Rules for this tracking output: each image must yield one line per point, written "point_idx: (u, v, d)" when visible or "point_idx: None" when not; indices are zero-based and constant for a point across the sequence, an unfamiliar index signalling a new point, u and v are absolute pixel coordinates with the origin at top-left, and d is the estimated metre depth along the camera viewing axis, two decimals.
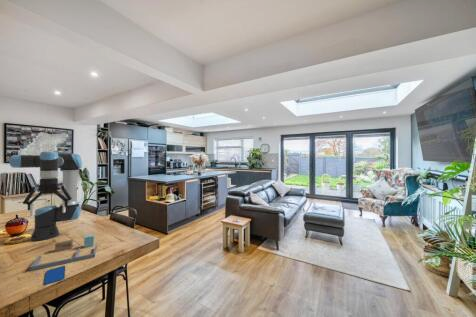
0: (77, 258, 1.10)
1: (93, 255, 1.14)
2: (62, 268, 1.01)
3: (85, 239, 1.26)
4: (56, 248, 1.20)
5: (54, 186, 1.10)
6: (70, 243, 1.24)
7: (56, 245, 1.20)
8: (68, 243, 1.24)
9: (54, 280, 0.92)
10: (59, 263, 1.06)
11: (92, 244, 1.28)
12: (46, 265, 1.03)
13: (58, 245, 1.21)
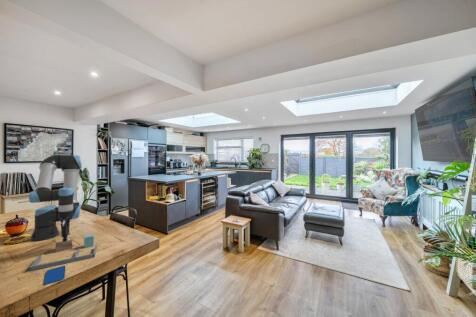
0: (77, 258, 1.10)
1: (93, 255, 1.14)
2: (62, 268, 1.01)
3: (85, 239, 1.26)
4: (56, 248, 1.20)
5: (62, 219, 1.23)
6: (71, 243, 1.24)
7: (56, 245, 1.20)
8: (69, 243, 1.24)
9: (54, 280, 0.91)
10: (59, 263, 1.06)
11: (92, 244, 1.28)
12: (46, 265, 1.03)
13: (58, 245, 1.21)
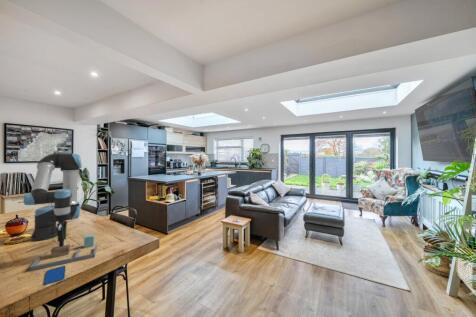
0: (77, 258, 1.10)
1: (93, 255, 1.14)
2: (62, 268, 1.01)
3: (85, 239, 1.26)
4: (52, 254, 1.13)
5: (58, 223, 1.16)
6: (67, 248, 1.17)
7: (52, 250, 1.13)
8: (65, 248, 1.16)
9: (54, 280, 0.91)
10: (59, 263, 1.06)
11: (92, 244, 1.28)
12: (46, 265, 1.03)
13: (54, 250, 1.14)
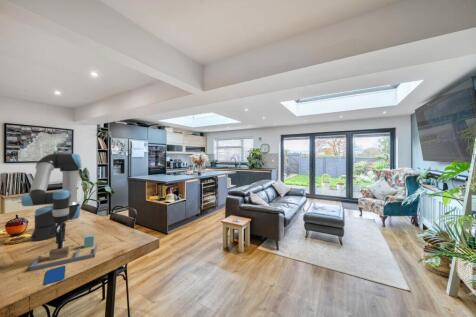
0: (77, 258, 1.10)
1: (93, 255, 1.14)
2: (62, 268, 1.01)
3: (85, 239, 1.26)
4: (50, 256, 1.11)
5: None
6: (66, 250, 1.14)
7: (50, 253, 1.11)
8: (64, 250, 1.14)
9: (54, 280, 0.91)
10: (59, 263, 1.06)
11: (92, 244, 1.28)
12: (46, 265, 1.03)
13: (53, 253, 1.11)
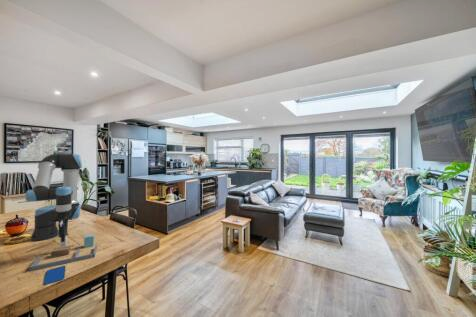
0: (77, 258, 1.10)
1: (93, 255, 1.14)
2: (62, 268, 1.01)
3: (85, 239, 1.26)
4: (53, 250, 1.15)
5: (59, 219, 1.19)
6: (69, 246, 1.20)
7: None
8: (67, 246, 1.20)
9: (54, 280, 0.91)
10: (59, 263, 1.06)
11: (92, 244, 1.28)
12: (46, 265, 1.03)
13: (56, 248, 1.17)
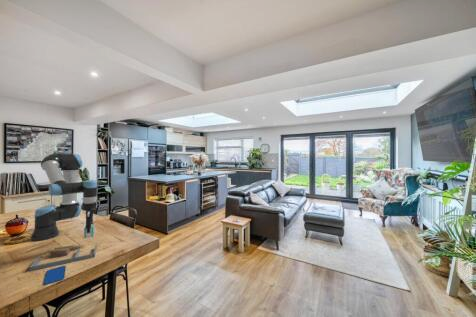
0: (77, 258, 1.10)
1: (93, 255, 1.14)
2: (62, 268, 1.01)
3: (85, 229, 1.27)
4: (54, 249, 1.16)
5: (87, 210, 1.27)
6: (69, 246, 1.19)
7: (55, 248, 1.17)
8: (67, 246, 1.19)
9: (54, 280, 0.91)
10: (59, 263, 1.06)
11: (92, 235, 1.29)
12: (46, 265, 1.03)
13: (57, 248, 1.18)
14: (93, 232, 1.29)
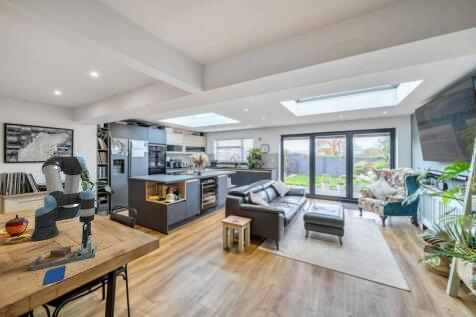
0: (77, 258, 1.10)
1: (93, 255, 1.14)
2: (62, 268, 1.01)
3: None
4: (54, 249, 1.16)
5: (84, 224, 1.16)
6: (68, 247, 1.19)
7: (57, 247, 1.18)
8: (67, 247, 1.19)
9: (54, 280, 0.91)
10: (59, 263, 1.06)
11: (90, 251, 1.18)
12: (46, 265, 1.03)
13: (58, 247, 1.18)
14: (91, 248, 1.19)
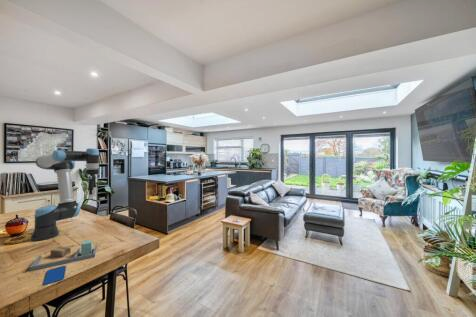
0: (77, 258, 1.10)
1: (93, 255, 1.14)
2: (62, 268, 1.01)
3: (82, 246, 1.16)
4: (55, 248, 1.17)
5: (90, 176, 1.36)
6: (68, 248, 1.18)
7: (58, 247, 1.19)
8: (67, 247, 1.18)
9: (53, 280, 0.91)
10: (59, 263, 1.06)
11: (90, 251, 1.18)
12: (46, 265, 1.03)
13: (59, 247, 1.19)
14: (91, 248, 1.19)
